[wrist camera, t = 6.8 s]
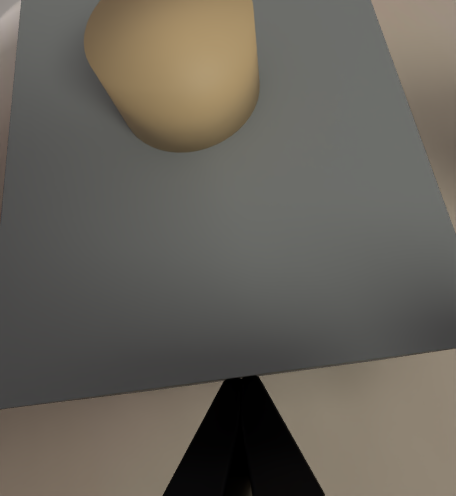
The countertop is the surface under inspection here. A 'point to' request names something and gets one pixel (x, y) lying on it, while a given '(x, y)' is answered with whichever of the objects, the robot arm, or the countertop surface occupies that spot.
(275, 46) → the gray block
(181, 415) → the countertop surface
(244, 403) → the robot arm
